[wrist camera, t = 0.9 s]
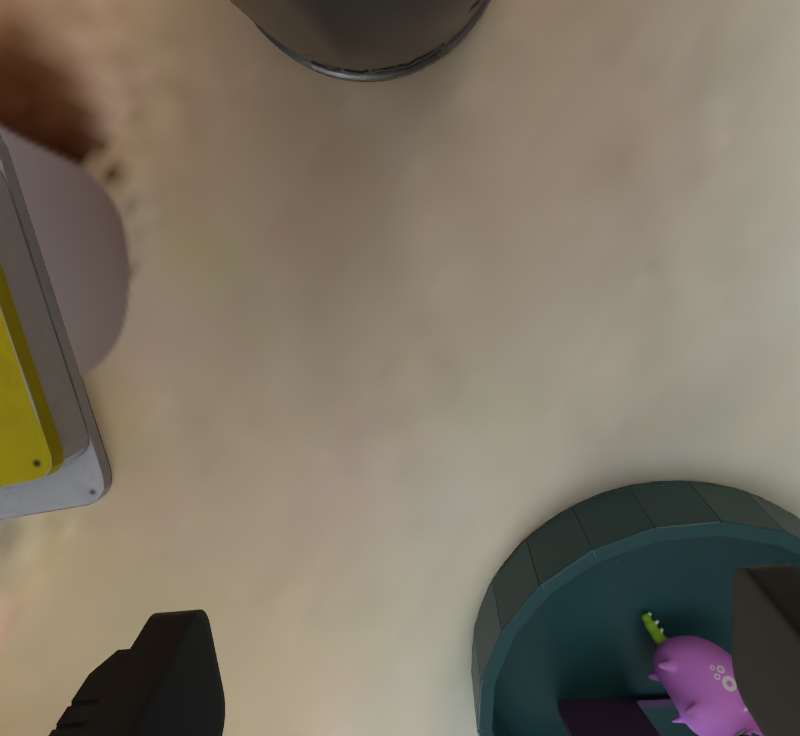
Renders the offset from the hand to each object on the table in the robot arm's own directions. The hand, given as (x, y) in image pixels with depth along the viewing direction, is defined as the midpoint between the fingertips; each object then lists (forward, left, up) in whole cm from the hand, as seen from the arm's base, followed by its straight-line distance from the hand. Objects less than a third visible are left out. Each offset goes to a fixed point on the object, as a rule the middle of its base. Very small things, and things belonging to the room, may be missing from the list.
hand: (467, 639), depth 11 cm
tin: (+14, +8, -17) cm, 24 cm away
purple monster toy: (+14, +8, -17) cm, 24 cm away
